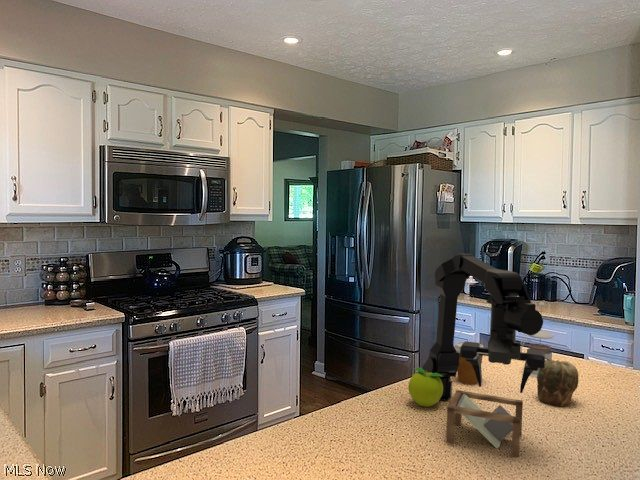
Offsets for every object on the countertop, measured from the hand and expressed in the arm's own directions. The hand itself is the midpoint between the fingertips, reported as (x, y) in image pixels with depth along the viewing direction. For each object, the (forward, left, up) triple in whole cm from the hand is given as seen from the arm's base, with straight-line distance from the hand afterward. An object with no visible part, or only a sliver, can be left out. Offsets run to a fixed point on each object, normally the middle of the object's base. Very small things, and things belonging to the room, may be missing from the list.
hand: (500, 389), depth 120 cm
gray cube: (-1, 0, -10) cm, 10 cm away
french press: (+7, +60, -13) cm, 62 cm away
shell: (+13, +35, -13) cm, 40 cm away
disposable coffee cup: (-13, +41, -13) cm, 45 cm away
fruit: (-21, +14, -13) cm, 28 cm away
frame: (-3, 0, -12) cm, 13 cm away
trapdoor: (-5, 0, -8) cm, 10 cm away
